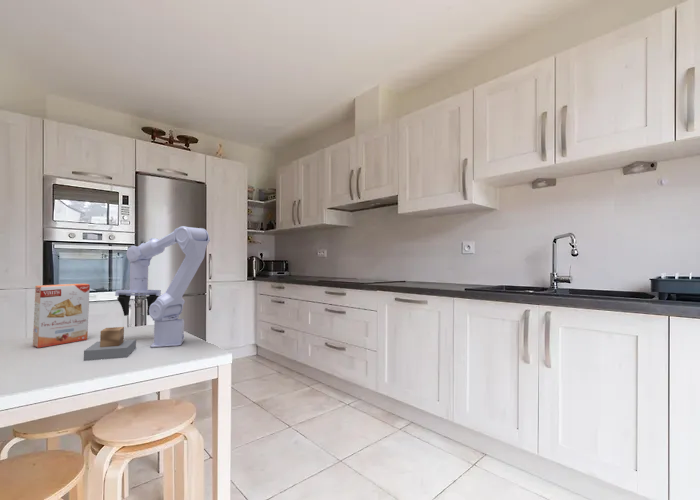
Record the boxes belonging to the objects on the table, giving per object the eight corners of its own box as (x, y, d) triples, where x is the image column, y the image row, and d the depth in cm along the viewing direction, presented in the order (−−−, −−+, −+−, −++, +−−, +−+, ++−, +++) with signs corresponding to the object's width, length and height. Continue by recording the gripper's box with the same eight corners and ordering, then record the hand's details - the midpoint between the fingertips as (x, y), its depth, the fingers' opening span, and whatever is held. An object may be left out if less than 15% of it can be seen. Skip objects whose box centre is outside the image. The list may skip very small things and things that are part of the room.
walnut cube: (123, 342, 109) (124, 326, 109) (118, 345, 104) (119, 330, 104) (105, 343, 107) (106, 327, 107) (99, 347, 102) (100, 331, 102)
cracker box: (38, 348, 110) (40, 286, 110) (32, 346, 113) (34, 285, 113) (88, 340, 121) (90, 283, 122) (81, 337, 125) (83, 282, 125)
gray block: (135, 349, 112) (136, 339, 112) (126, 359, 102) (126, 347, 102) (97, 352, 108) (97, 341, 109) (83, 362, 98) (83, 350, 98)
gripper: (111, 279, 117) (110, 317, 116) (156, 279, 120) (155, 316, 119) (120, 277, 123) (119, 313, 123) (163, 278, 127) (162, 313, 126)
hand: (137, 315), depth 122 cm, fingers open, 7 cm apart
